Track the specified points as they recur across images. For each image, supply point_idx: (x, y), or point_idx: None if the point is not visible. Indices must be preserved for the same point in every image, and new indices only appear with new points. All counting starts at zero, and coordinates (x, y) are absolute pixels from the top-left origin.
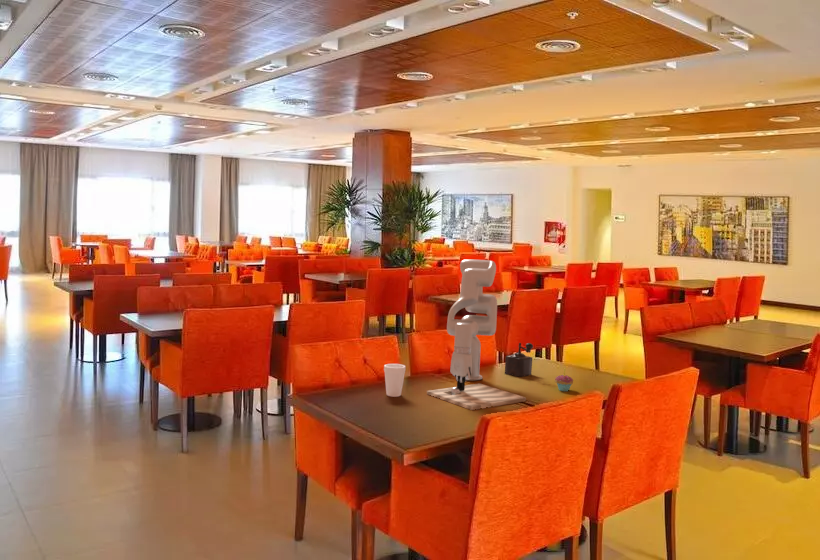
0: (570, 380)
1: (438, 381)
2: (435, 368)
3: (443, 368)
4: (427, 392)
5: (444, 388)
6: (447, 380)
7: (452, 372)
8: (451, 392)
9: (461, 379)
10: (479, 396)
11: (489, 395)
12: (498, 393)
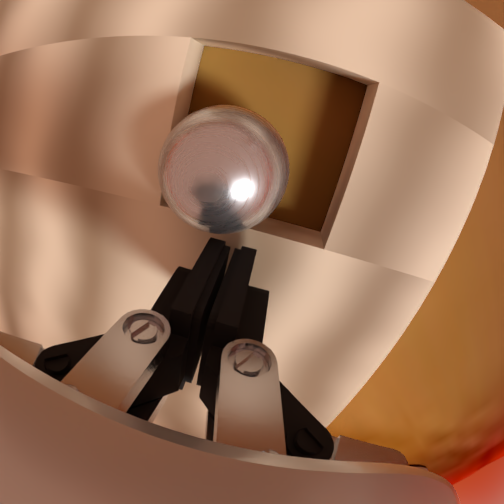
0: None
1: (496, 402)
2: (496, 459)
3: (475, 471)
4: (498, 33)
5: (443, 263)
6: (458, 434)
7: (378, 499)
8: (251, 111)
9: (102, 348)
10: (27, 238)
11: (35, 309)
12: None
